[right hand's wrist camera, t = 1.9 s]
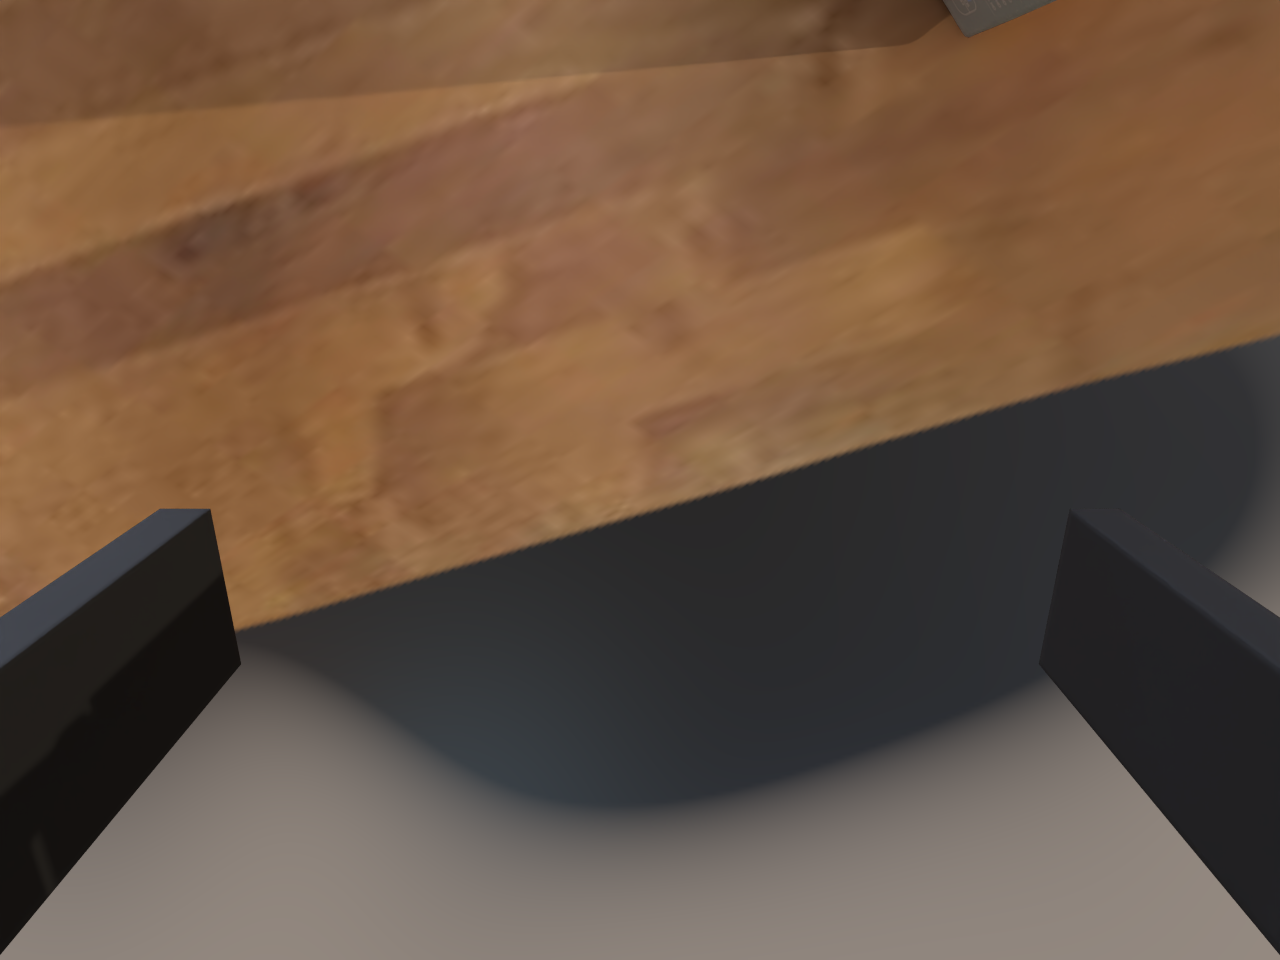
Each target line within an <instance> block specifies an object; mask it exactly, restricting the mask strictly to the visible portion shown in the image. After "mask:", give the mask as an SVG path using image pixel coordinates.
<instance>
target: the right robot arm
mask: <svg viewBox="0 0 1280 960" xmlns="http://www.w3.org/2000/svg"><path fill="white" fill-rule="evenodd" d="M240 665H241V661H240V656H239V651H238V646H237V641H236V636H235V631H234V626H233V621H232V616H231V611H230V606H229V601H228V596H227V591H226V586H225V581H224V576H223V571H222V566H221V560H220V555H219V550H218V545H217V540H216V535H215V530H214V525H213V520H212V515H211V510H210V509H159V510H158V511H156V512H155V513H153V514H152V515H150V516H149V517H147V518H146V519H144V520H143V521H142V522H140V523H139V524H137V525H136V526H134V527H133V528H131V529H130V530H128V531H127V532H125V533H124V534H122V535H121V536H119V537H118V538H117V539H115V540H114V541H112V542H111V543H109V544H108V545H106V546H105V547H103V548H102V549H100V550H99V551H97V552H96V553H94V554H93V555H92V556H90V557H89V558H87V559H86V560H84V561H83V562H81V563H80V564H78V565H77V566H75V567H74V568H72V569H71V570H69V571H68V572H67V573H65V574H64V575H62V576H61V577H59V578H58V579H56V580H55V581H53V582H52V583H50V584H49V585H47V586H46V587H44V588H43V589H42V590H40V591H39V592H37V593H36V594H34V595H33V596H31V597H30V598H28V599H27V600H25V601H24V602H22V603H21V604H19V605H18V606H17V607H15V608H14V609H12V610H11V611H9V612H8V613H6V614H5V615H3V616H2V617H0V954H1V953H2V952H3V951H4V950H5V948H6V947H7V946H8V945H9V943H10V942H11V941H12V940H13V939H14V938H15V936H16V935H17V934H18V933H19V932H20V930H21V929H22V928H23V927H24V925H25V924H26V923H27V922H28V921H29V919H30V918H31V917H32V916H33V915H34V913H35V912H36V911H37V910H38V909H39V907H40V906H41V905H42V904H43V903H44V901H45V900H46V899H47V898H48V897H49V895H50V894H51V893H52V892H53V890H54V889H55V888H56V887H57V886H58V884H59V883H60V882H61V881H62V880H63V878H64V877H65V876H66V875H67V874H68V872H69V871H70V870H71V869H72V867H73V866H74V865H75V864H76V863H77V861H78V860H79V859H80V858H81V857H82V855H83V854H84V853H85V852H86V851H87V849H88V848H89V847H90V846H91V845H92V843H93V842H94V841H95V840H96V839H97V837H98V836H99V835H100V834H101V833H102V831H103V830H104V829H105V828H106V827H107V825H108V824H109V823H110V822H111V820H112V819H113V818H114V817H115V816H116V814H117V813H118V812H119V811H120V810H121V808H122V807H123V806H124V805H125V804H126V802H127V801H128V800H129V799H130V798H131V796H132V795H133V794H134V793H135V791H136V790H137V789H138V788H139V787H140V785H141V784H142V783H143V782H144V781H145V779H146V778H147V777H148V776H149V775H150V773H151V772H152V771H153V770H154V769H155V767H156V766H157V765H158V764H159V763H160V761H161V760H162V759H163V758H164V756H165V755H166V754H167V753H168V752H169V750H170V749H171V748H172V747H173V746H174V744H175V743H176V742H177V741H178V740H179V738H180V737H181V736H182V735H183V734H184V732H185V731H186V730H187V729H188V728H189V726H190V725H191V724H192V723H193V721H194V720H195V719H196V718H197V717H198V715H199V714H200V713H201V712H202V711H203V709H204V708H205V707H206V706H207V705H208V703H209V702H210V701H211V700H212V699H213V697H214V696H215V695H216V694H217V693H218V691H219V690H220V689H221V688H222V686H223V685H224V684H225V683H226V682H227V680H228V679H229V678H230V677H231V676H232V674H233V673H234V672H235V671H236V669H237V668H238V667H239V666H240ZM1039 665H1040V666H1041V667H1042V668H1043V670H1044V671H1045V672H1046V673H1047V674H1048V676H1049V677H1050V678H1051V679H1052V680H1053V682H1054V683H1055V684H1056V685H1057V686H1058V688H1059V689H1060V690H1061V691H1062V693H1063V694H1064V695H1065V696H1066V697H1067V699H1068V700H1069V701H1070V702H1071V703H1072V705H1073V706H1074V707H1075V708H1076V709H1077V711H1078V712H1079V713H1080V714H1081V715H1082V717H1083V718H1084V719H1085V720H1086V721H1087V723H1088V724H1089V725H1090V726H1091V727H1092V729H1093V730H1094V731H1095V732H1096V734H1097V735H1098V736H1099V737H1100V738H1101V740H1102V741H1103V742H1104V743H1105V744H1106V746H1107V747H1108V748H1109V749H1110V750H1111V752H1112V753H1113V754H1114V755H1115V756H1116V758H1117V759H1118V760H1119V761H1120V763H1121V764H1122V765H1123V766H1124V767H1125V769H1126V770H1127V771H1128V772H1129V773H1130V775H1131V776H1132V777H1133V778H1134V779H1135V781H1136V782H1137V783H1138V784H1139V785H1140V787H1141V788H1142V789H1143V790H1144V791H1145V793H1146V794H1147V795H1148V796H1149V797H1150V799H1151V800H1152V801H1153V802H1154V804H1155V805H1156V806H1157V807H1158V808H1159V810H1160V811H1161V812H1162V813H1163V814H1164V816H1165V817H1166V818H1167V819H1168V820H1169V822H1170V823H1171V824H1172V825H1173V826H1174V828H1175V829H1176V830H1177V831H1178V833H1179V834H1180V835H1181V836H1182V837H1183V839H1184V840H1185V841H1186V842H1187V843H1188V845H1189V846H1190V847H1191V848H1192V849H1193V851H1194V852H1195V853H1196V854H1197V855H1198V857H1199V858H1200V859H1201V860H1202V862H1203V863H1204V864H1205V865H1206V866H1207V868H1208V869H1209V870H1210V871H1211V872H1212V874H1213V875H1214V876H1215V877H1216V878H1217V880H1218V881H1219V882H1220V883H1221V884H1222V886H1223V887H1224V888H1225V889H1226V890H1227V892H1228V893H1229V894H1230V895H1231V897H1232V898H1233V899H1234V900H1235V901H1236V903H1237V904H1238V905H1239V906H1240V907H1241V909H1242V910H1243V911H1244V912H1245V913H1246V915H1247V916H1248V917H1249V918H1250V919H1251V921H1252V922H1253V923H1254V924H1255V925H1256V927H1257V928H1258V929H1259V930H1260V932H1261V933H1262V934H1263V935H1264V936H1265V938H1266V939H1267V940H1268V941H1269V942H1270V944H1271V945H1272V946H1273V947H1274V948H1275V950H1276V951H1277V952H1278V953H1279V954H1280V617H1278V616H1277V615H1275V614H1274V613H1272V612H1271V611H1269V610H1268V609H1266V608H1265V607H1263V606H1262V605H1260V604H1259V603H1258V602H1256V601H1255V600H1253V599H1252V598H1250V597H1249V596H1247V595H1246V594H1244V593H1243V592H1241V591H1240V590H1238V589H1237V588H1236V587H1234V586H1233V585H1231V584H1230V583H1228V582H1227V581H1225V580H1224V579H1222V578H1221V577H1219V576H1218V575H1216V574H1215V573H1213V572H1212V571H1210V570H1209V569H1208V568H1206V567H1205V566H1203V565H1202V564H1200V563H1199V562H1197V561H1196V560H1194V559H1193V558H1191V557H1190V556H1188V555H1187V554H1186V553H1184V552H1183V551H1181V550H1180V549H1178V548H1177V547H1175V546H1174V545H1172V544H1171V543H1169V542H1168V541H1166V540H1165V539H1163V538H1162V537H1161V536H1159V535H1158V534H1156V533H1155V532H1153V531H1152V530H1150V529H1149V528H1147V527H1146V526H1144V525H1143V524H1141V523H1140V522H1138V521H1137V520H1136V519H1134V518H1133V517H1131V516H1130V515H1128V514H1127V513H1125V512H1124V511H1122V510H1121V509H1070V510H1069V515H1068V521H1067V525H1066V530H1065V535H1064V540H1063V545H1062V550H1061V555H1060V560H1059V565H1058V571H1057V576H1056V581H1055V586H1054V591H1053V596H1052V601H1051V606H1050V611H1049V616H1048V621H1047V626H1046V631H1045V636H1044V641H1043V646H1042V651H1041V656H1040V661H1039Z"/></svg>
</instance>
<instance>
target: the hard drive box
mask: <svg viewBox="0 0 1280 960" xmlns="http://www.w3.org/2000/svg"><path fill="white" fill-rule="evenodd" d="M943 1H944V3H945V5H946V6H947V8H948V10H949V11H950V13H951V15H952V16H953V18H954V20H955V22H956V23H957V25H958V27H959V28H960V30H961V31H962V33H963V34H964V36H965V37H971V36H973V35H975V34H978V33H980V32H983V31H985V30H988V29H990V28H993V27H995V26H998V25H1000V24H1002V23H1005V22H1007V21H1010V20H1012V19H1014V18H1017V17H1019V16H1021V15H1024V14H1026V13H1028V12H1030V11H1033V10H1035V9H1037V8H1040V7H1042V6H1044V5H1047V4H1049V3H1051V2H1054V1H1056V0H943Z"/></svg>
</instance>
